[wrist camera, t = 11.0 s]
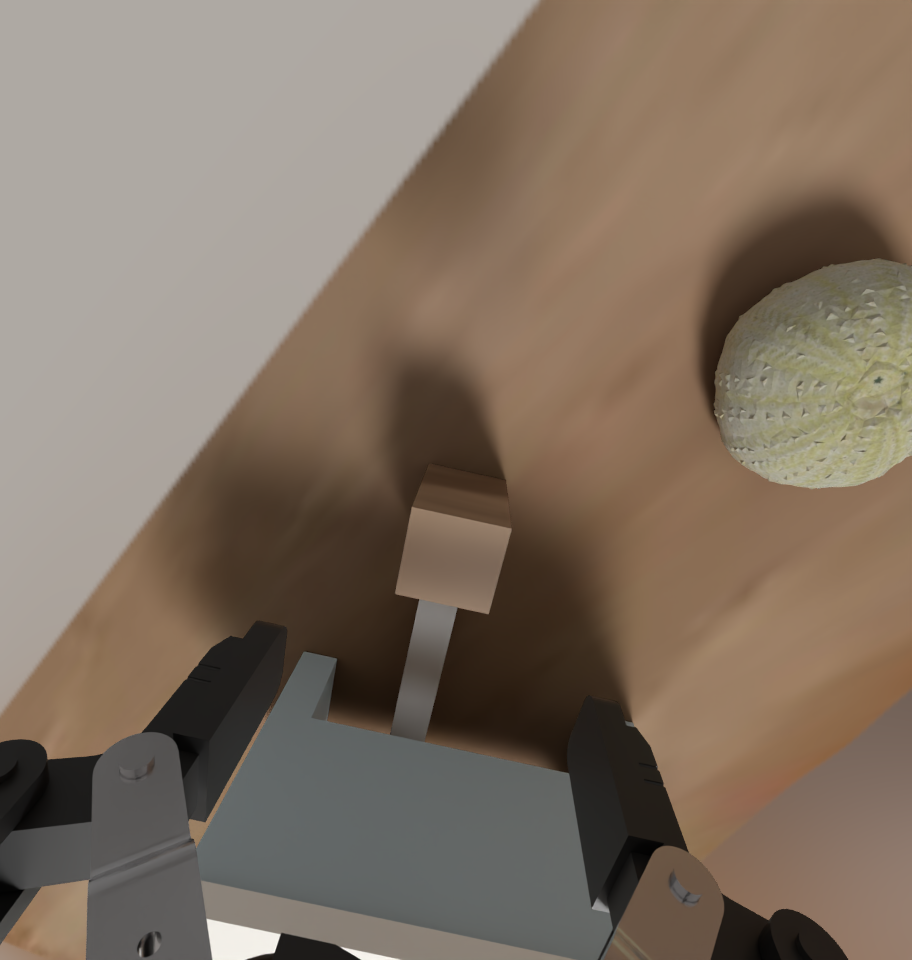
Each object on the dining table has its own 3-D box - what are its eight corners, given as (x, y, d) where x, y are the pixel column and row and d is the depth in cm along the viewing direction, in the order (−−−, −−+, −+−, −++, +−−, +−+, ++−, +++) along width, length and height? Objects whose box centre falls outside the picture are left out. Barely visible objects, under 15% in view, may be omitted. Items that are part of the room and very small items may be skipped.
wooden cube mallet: (428, 463, 25) (411, 506, 19) (506, 480, 25) (512, 528, 19) (378, 713, 30) (353, 806, 24) (441, 727, 30) (431, 823, 24)
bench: (296, 642, 29) (143, 905, 16) (643, 718, 29) (769, 1037, 16) (282, 756, 32) (142, 1056, 19) (598, 823, 32) (673, 1165, 19)
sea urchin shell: (682, 484, 22) (806, 375, 15) (675, 352, 26) (774, 213, 19) (879, 520, 22) (1098, 426, 15) (846, 383, 26) (1011, 254, 19)
